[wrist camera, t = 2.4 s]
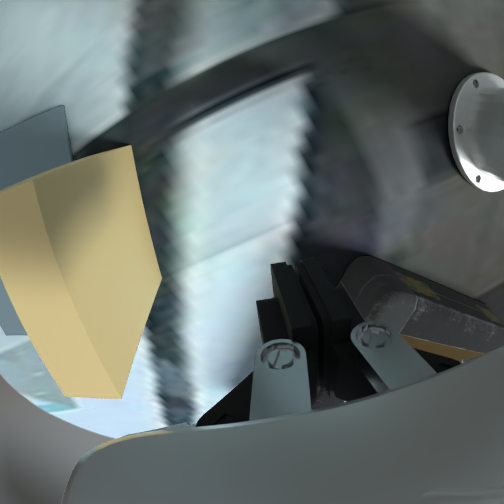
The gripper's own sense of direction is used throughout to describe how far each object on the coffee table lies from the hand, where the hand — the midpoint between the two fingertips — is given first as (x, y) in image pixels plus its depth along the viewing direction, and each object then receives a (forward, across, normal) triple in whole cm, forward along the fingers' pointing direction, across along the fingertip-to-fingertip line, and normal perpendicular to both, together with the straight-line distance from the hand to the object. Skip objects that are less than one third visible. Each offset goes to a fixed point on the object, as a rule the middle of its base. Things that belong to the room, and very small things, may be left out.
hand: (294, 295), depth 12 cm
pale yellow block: (+15, +11, 0) cm, 19 cm away
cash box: (+15, -14, +20) cm, 29 cm away
